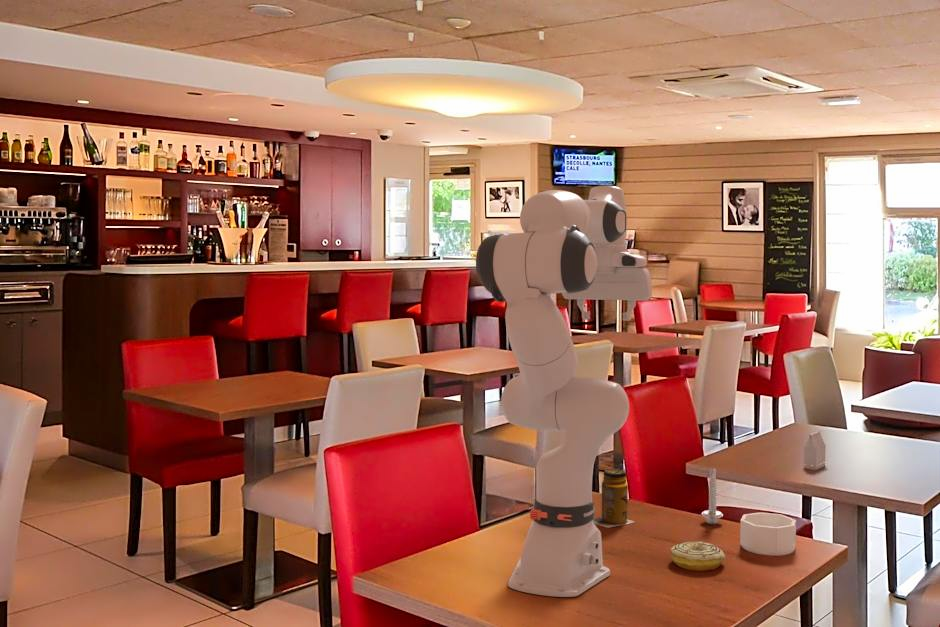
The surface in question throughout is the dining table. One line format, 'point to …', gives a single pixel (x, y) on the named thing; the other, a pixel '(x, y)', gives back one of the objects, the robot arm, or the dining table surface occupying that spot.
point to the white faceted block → (814, 452)
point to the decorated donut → (697, 556)
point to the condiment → (614, 499)
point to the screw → (712, 501)
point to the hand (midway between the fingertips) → (606, 320)
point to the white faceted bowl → (768, 534)
